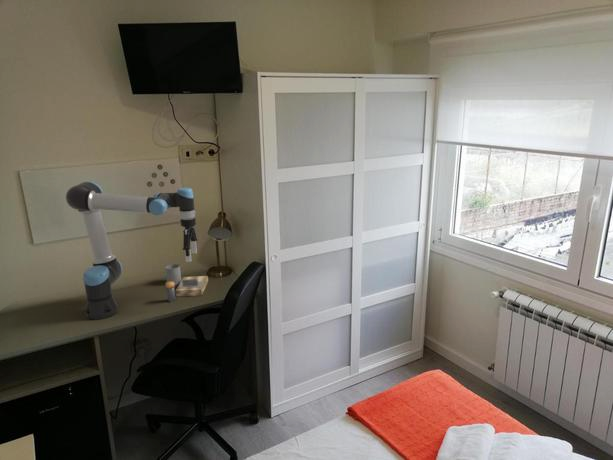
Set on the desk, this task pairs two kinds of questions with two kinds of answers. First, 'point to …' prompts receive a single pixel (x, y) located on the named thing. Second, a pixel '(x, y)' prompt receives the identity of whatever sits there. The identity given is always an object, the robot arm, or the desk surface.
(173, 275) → the cup
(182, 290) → the socket board
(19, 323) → the desk surface
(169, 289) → the orange grey cylinder
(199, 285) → the shutter
